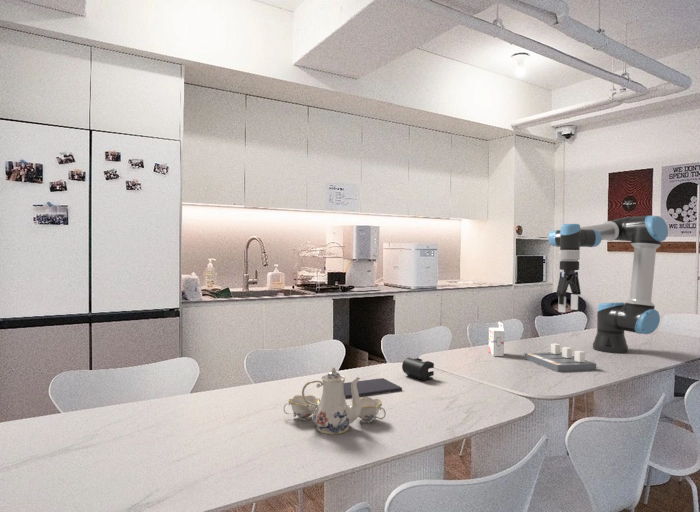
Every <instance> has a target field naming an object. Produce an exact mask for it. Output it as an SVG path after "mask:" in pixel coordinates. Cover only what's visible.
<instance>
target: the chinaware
mask: <svg viewBox="0 0 700 512" xmlns="http://www.w3.org/2000/svg"><path fill="white" fill-rule="evenodd" d="M346 379H347V378H346V376H344V375H341V374H340V373H339V372H338V371H337V369H336V367H334V366H333V367H332V368H331V369H330V372H327V374H326V375H322V376H321V380H318V379H316V380H309V381H308V382H306V383H305V384H304V385H303V387H302V390H301V395H300V394H299V395H297V394H296V395H295V396H293V397H292V398H289V399H288V400H287V402H286V403H285V404H284V405H283V412H284V413H285V414H286V415H291V414H293V416H292V417H293V418H295V417H298V420H300V421H307V420H310V417H311V420H312V421H313V423H314V424H315V425H316V431H318V432H319V433H322V434H327V435H340V434H344V433H347V432H348V431H349V426H350V425H351V424H353V422H355V421H356V420H357V419H358V418H359V421H361V422H362V423H369V424H370V423H371V422H372V421H375V422H376V421H377V419H379V420H384V418H385V417H386V413H387V412H386V410H385V409H384V408H383V407H382V405H383V403H382V400H381V399H380V398H374V399H373V398H371V397H368V396H361V397H359V393H358V390H357V382H358V381H360V379H361V377H355V378H353V380H352V381H351V382H352V384H351V392H352V398H351V405H348V404H347V402H346V399H345V396H344V383H345V380H346ZM314 383H317V384H316V388H317V389H318V388H320V387H322V392H321V398H316V396H314V395H313V394H308V395H305V389H306V388H307V387H308V385H310V384H314ZM287 405H288V406H291V407H290V408H291V410H292V411H291V412H289V413H288V412H287V411H286V410H285V407H286V406H287ZM379 411H383V414H384V416H382V417H379V416H377V415H378V414H379Z"/></svg>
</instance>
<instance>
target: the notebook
mask: <svg viewBox="0 0 700 512" xmlns="http://www.w3.org/2000/svg"><path fill="white" fill-rule="evenodd" d="M351 384H352V381H349V382H344V396H345V400H346V399H352V392H351ZM357 390H358V393H359V397H360V398H362V397H368V396H373V395H381V394H389V393H396V392H402V391H403V387H401V386H399V385H397V384H396V383H393V382H391V381H390V380H388V379H386V378H383V377H382V378H381V377H380V378H379V377H378V378H373V379H366V380H365V379H363V380H358V382H357Z"/></svg>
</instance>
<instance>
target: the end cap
mask: <svg viewBox="0 0 700 512" xmlns="http://www.w3.org/2000/svg"><path fill="white" fill-rule="evenodd" d="M434 368H435V363H434V362H432V361H430V360H427V361H423V359H422V358H419V357H417V358H416V357H415V358H411V357H406V358H405V359H404V360H403V361H402V365H401V369H402V372H403V373H404V374H405V375H407V376H409V377H410V378H411V377H412V378H415V379H418V380H421V381H424V382H428V381H432V380H431V379H433V380H434V377H433V376H434V375H435V373H434V372H435V371H434V370H432V371H429V370H430V369H434ZM427 380H428V381H427Z"/></svg>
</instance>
